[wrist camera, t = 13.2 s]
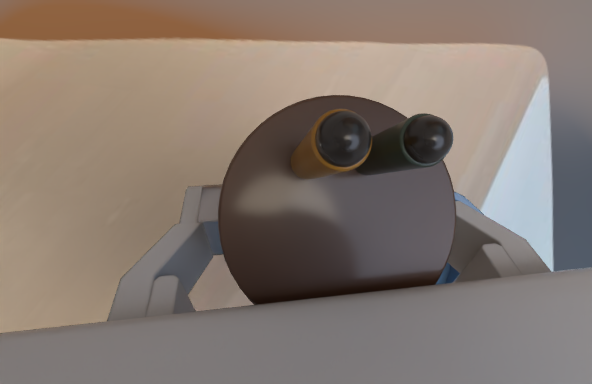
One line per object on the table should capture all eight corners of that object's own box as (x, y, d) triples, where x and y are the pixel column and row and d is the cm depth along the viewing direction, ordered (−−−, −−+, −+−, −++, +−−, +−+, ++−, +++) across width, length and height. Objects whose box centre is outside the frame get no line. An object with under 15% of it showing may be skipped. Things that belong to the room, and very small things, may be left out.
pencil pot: (222, 207, 15) (51, 277, 3) (293, 126, 16) (393, -101, 3) (304, 276, 16) (438, 575, 4) (371, 196, 16) (705, 215, 4)
